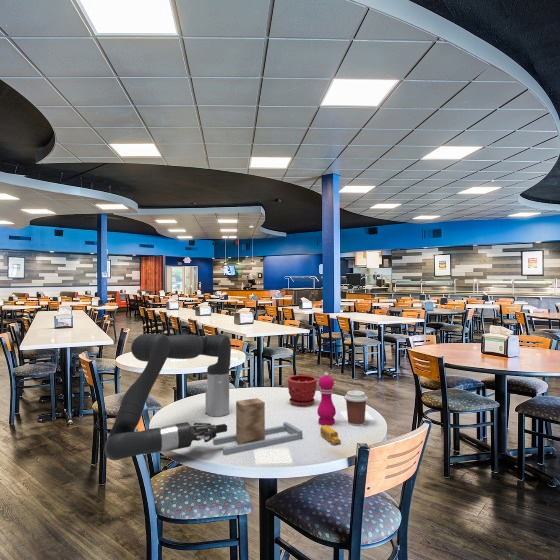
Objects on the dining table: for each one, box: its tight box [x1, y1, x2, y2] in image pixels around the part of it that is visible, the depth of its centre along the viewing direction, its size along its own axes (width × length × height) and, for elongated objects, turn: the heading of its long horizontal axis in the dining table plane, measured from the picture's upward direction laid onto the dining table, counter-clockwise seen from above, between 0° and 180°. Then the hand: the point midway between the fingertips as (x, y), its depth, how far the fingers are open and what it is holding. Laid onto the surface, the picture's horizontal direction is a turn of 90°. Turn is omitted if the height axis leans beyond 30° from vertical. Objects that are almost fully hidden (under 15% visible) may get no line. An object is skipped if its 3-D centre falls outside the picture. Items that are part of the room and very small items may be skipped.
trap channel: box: [212, 421, 303, 456], centre depth 141 cm, size 29×11×3 cm, turn 119°
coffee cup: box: [343, 389, 369, 427], centre depth 160 cm, size 9×9×12 cm
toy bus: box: [319, 425, 342, 446], centre depth 143 cm, size 3×10×4 cm, turn 20°
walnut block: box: [235, 397, 266, 445], centre depth 140 cm, size 8×6×14 cm
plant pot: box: [287, 374, 317, 407], centre depth 188 cm, size 13×13×12 cm
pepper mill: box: [317, 371, 337, 427], centre depth 160 cm, size 7×7×20 cm
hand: (226, 427), depth 135 cm, fingers closed
